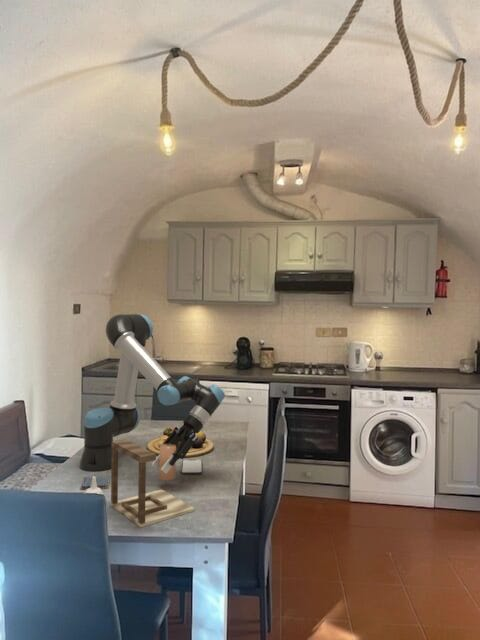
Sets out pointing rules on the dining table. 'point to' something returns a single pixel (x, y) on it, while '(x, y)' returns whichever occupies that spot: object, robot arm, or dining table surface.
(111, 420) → the robot arm
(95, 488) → the garlic bulb
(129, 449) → the wooden c-frame stand
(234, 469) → the dining table surface
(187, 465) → the phone case
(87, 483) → the woven mat
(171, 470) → the tan cylinder
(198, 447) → the wooden plate with food
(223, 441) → the dining table surface
